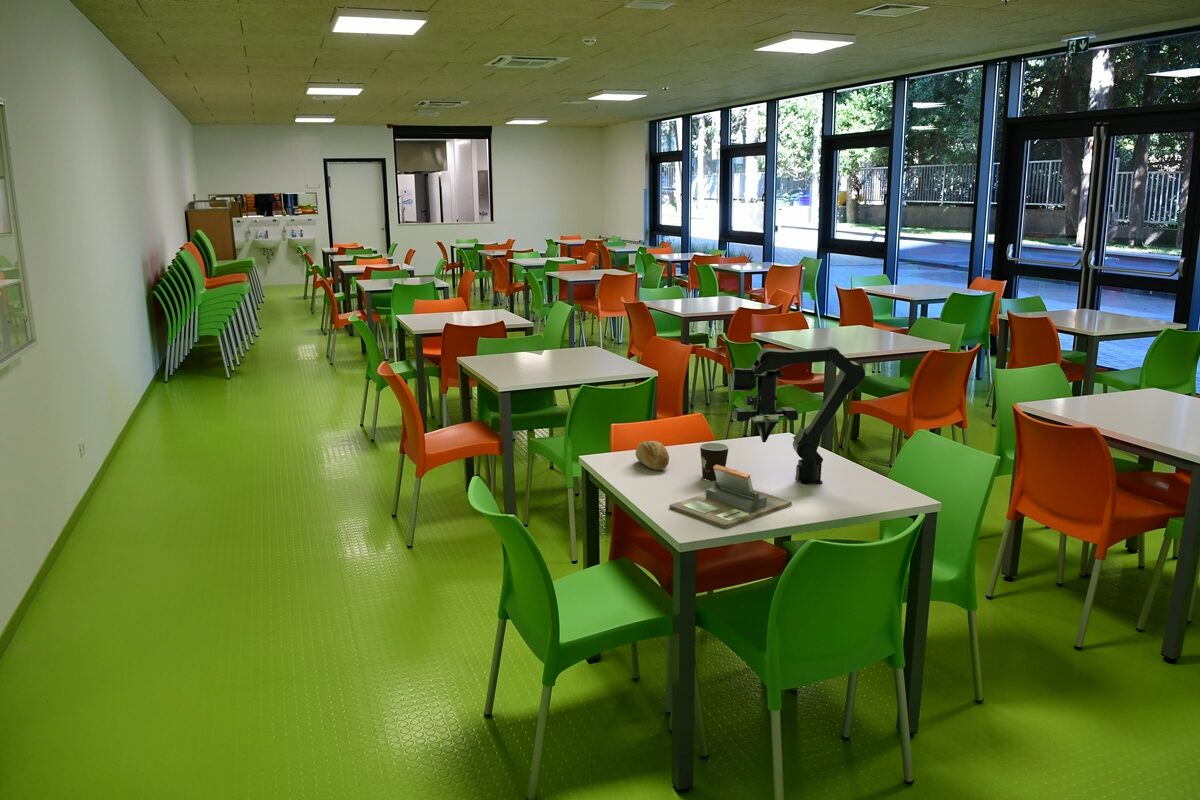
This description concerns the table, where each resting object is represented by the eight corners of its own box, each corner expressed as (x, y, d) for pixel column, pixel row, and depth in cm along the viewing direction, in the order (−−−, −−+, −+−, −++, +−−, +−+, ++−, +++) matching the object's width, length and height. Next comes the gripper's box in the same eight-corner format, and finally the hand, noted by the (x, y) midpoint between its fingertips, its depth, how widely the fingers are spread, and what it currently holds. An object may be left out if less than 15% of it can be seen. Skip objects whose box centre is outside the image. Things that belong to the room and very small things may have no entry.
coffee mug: (728, 482, 260) (729, 450, 258) (699, 482, 261) (700, 450, 259) (725, 471, 272) (726, 440, 270) (697, 470, 272) (698, 439, 270)
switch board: (736, 487, 256) (737, 470, 255) (791, 505, 241) (792, 487, 240) (669, 508, 238) (669, 490, 237) (724, 528, 224) (725, 509, 222)
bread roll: (647, 474, 268) (647, 449, 267) (629, 461, 282) (629, 437, 280) (675, 471, 272) (676, 446, 270) (656, 458, 285) (656, 434, 284)
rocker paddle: (720, 485, 245) (715, 463, 242) (756, 496, 236) (751, 474, 233) (717, 487, 245) (712, 466, 242) (752, 499, 235) (747, 477, 232)
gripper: (788, 385, 266) (785, 434, 269) (728, 386, 264) (726, 435, 267) (800, 392, 255) (797, 444, 259) (738, 394, 253) (736, 445, 256)
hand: (763, 442), depth 260 cm, fingers closed
